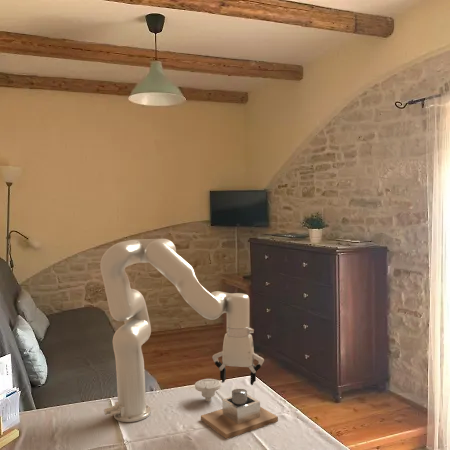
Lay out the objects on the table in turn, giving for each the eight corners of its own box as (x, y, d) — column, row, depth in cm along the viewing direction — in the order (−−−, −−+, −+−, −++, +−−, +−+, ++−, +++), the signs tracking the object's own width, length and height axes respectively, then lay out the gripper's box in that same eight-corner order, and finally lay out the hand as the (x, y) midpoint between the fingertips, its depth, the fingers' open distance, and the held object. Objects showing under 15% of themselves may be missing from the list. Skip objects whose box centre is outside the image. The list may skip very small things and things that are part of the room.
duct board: (226, 439, 148) (225, 418, 148) (200, 419, 162) (200, 400, 161) (277, 421, 159) (277, 401, 159) (249, 404, 172) (249, 386, 172)
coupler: (246, 419, 158) (245, 395, 158) (231, 418, 159) (230, 394, 159) (248, 412, 163) (248, 389, 162) (234, 411, 164) (233, 388, 164)
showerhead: (192, 386, 172) (197, 376, 182) (193, 406, 173) (197, 394, 183) (218, 386, 171) (221, 376, 181) (219, 406, 172) (222, 395, 182)
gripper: (265, 329, 161) (265, 380, 162) (215, 326, 165) (215, 376, 166) (262, 336, 154) (262, 388, 155) (209, 332, 158) (209, 384, 159)
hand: (237, 382), depth 160 cm, fingers open, 9 cm apart
